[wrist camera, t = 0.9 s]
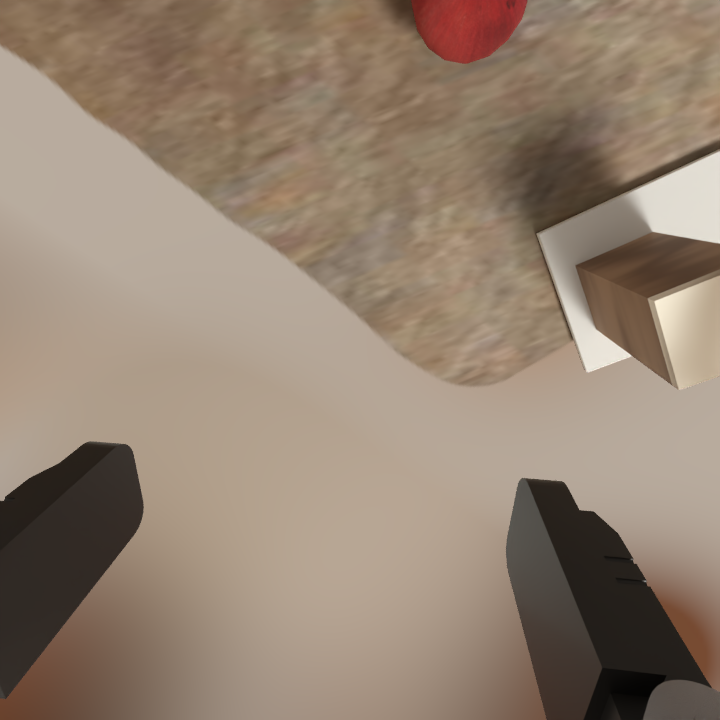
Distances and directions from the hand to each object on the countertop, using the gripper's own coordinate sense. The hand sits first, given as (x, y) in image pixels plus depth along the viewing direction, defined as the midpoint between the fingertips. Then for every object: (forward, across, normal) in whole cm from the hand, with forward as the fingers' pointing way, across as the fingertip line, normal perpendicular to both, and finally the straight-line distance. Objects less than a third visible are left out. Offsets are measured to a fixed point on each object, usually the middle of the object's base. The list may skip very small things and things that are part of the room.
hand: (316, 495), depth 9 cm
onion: (+25, -4, -15) cm, 29 cm away
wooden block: (+24, -16, 0) cm, 29 cm away
